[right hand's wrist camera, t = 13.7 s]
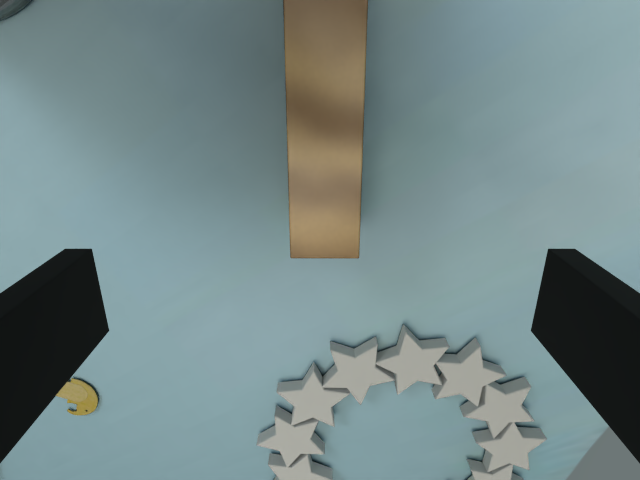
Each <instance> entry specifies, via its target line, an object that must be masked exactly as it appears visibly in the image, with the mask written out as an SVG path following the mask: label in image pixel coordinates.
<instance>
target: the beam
mask: <svg viewBox="0 0 640 480" xmlns="http://www.w3.org/2000/svg"><path fill="white" fill-rule="evenodd" d="M283 7H284V43H285V79H286V115H287V152H288V188H289V224H290V257H291V258H359V244H360V215H361V186H362V157H363V128H364V99H365V70H366V41H367V12H368V0H283Z"/></svg>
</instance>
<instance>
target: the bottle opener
mask: <svg viewBox="0 0 640 480" xmlns="http://www.w3.org/2000/svg"><path fill="white" fill-rule="evenodd" d="M56 396H58V397H62V398H65V399H68V401H67V403H74V404H77V410H76V411H72V410H70V409H68V410H67V411H68V412H69V413H71V414H74V415H86V414H89V413H91V412H93V411H94V410H95V409H96V407H97V404H98V397H97V394H96V392H95V391H94V389H93V388H92V387H91V386H89V385H88V384H86V383H85V382H83V381H81V380H77V379H74V378H72V379H71V382H68V381H67V383H66V384H65V385H64V386H63V387H62V389H61V390H60V391H59V392H58V394H57V395H56ZM86 410H88V411H86Z"/></svg>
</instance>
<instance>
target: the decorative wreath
mask: <svg viewBox="0 0 640 480" xmlns="http://www.w3.org/2000/svg"><path fill="white" fill-rule="evenodd" d="M377 347H378V344H377V339H376V337H374V338H372V339H370V340H369V341H367V342H365V343H363V344H361V345H360V346H358V347H356V348H350V347H347V346H344V345H341V344H338V343H335V342H332V341H330V350H331V353H332V356H333V359H334V362H335V364H334V365H333V366H332V368H331V369H330V370H329V371H328V372H327V373H326V374H325V375H324V376H323V377H322V375H321V373H320V371H319V370H318V368H317V366H316V364H315V363H314V362H313V364H312V366H311V367H310V369H309V370H308V372H307V374H306V375H305V377H304V378H303V380H298V381H288V382H278V386H277V393H278V394H279V395H281V396H282V397H283V398H284V399H286V400H287V401H288V402H289V403H291V404H292V405H293V406H294V407H293V412H292V414H291V413H289V412H287V411H285V410H284V409H282V408H280V407H279V406H277V405H276V410H275V425H274V426H273V427H271V428H269V429H267V430H265V431H264V432H262V433H260V434H258V439H257V446H261V447H265V448H270V449H274V450H278V451H280V453H281V455H279V454H271V453H270V454H269V461H268V465H269V466H270V468H271V469H272V470H273V472H274V473H275V474H276V477H275V478H274V480H332V468H329V467H327V466H324V465H321V464H319V463H316V462H313V461H312V459H311V455H310V454H325V443H324V442H323V441H322V440H321V439H320V438H319V437H318V435H317V434H316V433H315V432H314V430H315V428H316V426H317V423H318V420H320V421H322V422H324V423H327V424H329V425H331V426H334V413H333V406H334V405H335V404H337V403H338V402H339V401H341V400H342V399H343V398H345V397H346V396H347V395H349V394H350V392H351V394H352V395H353V396H354V397H355V399H356V400H357V401H358V402H359V404H360V405H361V403H362V401H363V399H364V397H365V395H366V393H367V391H368V389H369V387H370V386H371V385H376V384H381V383H385V382H390V381H394V380H395V387H396V391H397V395H398V394H399V393H401V392H402V391H404V390H405V389H406V388H408V387H409V386H411V385H412V384H414V383H415V382H416V381H422V382H427V383H433V384H435V385H434V386H433V388H432V392H433V395H434V398H435V399H439V398H444V397H448V396H453V395H458V394H461V395H463V396H464V397H465V398H467V399H468V400H469V401H468V402H466V403H465V404H463V405H461V406H460V409H461V412H462V414H463V417H467V418H472V419H478V420H483V421H486V423H487V425H488V428H489V429H487V430H481V431H474V432H472V434H473V436H474V439H475V441H476V443H477V444H479V445H480V446H481V447H483V448H484V449H485V450H486V451H485V454H484V458H483V462H480V461H475V460H470V459H467V461H468V463H469V466H470V469H471V471H472V474H473V475H472V476H471V477H469V478H468V479H467V480H523V478H521V477H519V476H518V475H516V474H514V473H512V469H513V465H516V466H519V467H522V468H524V469H527V470H529V461H528V452H530V451H531V450H533V449H534V448H535V447H537V446H538V445H540V444H541V443H542V442H544V441H545V440H546V439H547V438H546V437H545V435H544V433H543V432H542V430H541V429H540V428H527V427H517V426H516V424H515V423H514V422H529V421H534V419H533V418H532V416H531V415H530V413H529V411H528V410H527V409H526V408H525V407H524V406H523V405H522V403H523V402H524V400H525V398H526V396H527V394H528V392H529V390H530V388H531V385H530V384H529V382H528V381H527V379H526V378H525V377H522V378H519V379H516V380H513V381H510V382H507V383H504V384H501V385H500V384H498V383H496V382H494V381H496V380H498V379H500V378H502V377H504V376H506V373H505V372H504V370H503V369H502V367H501V366H499V365H496V364H493V363H491V362H488V361H485V360H482V354H481V347H480V344H479V343H478V341H477V339H476V338H474V339H473V340H472V341H471V342H470V343H469V344H467V345H466V346H465V347H464V348H463V349H462V350H461V351H460V352H459V353H458V354H444V353H445V351H446V350H447V349H448V348H449V345H448V343H447V341H446V338H439V339H429V340H418V339H417V338H416V337H415V336H414V335H413V334H412V332H411V331H410V330H409V329H408V328H407V327H406V326H405V325H404V324H403V326H402V329H401V332H400V336H399V339H398V342H397V345H396V346H394V347H391V348H388V349H386V350H383V351H380V352H377ZM435 364H437V366H438V367H439V369H440V370H441V372H442V373H441V375H440V377H439V375H438V373H437V371H436V369H435V366H434V365H435ZM394 374H395V377H394Z"/></svg>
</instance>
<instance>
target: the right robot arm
mask: <svg viewBox="0 0 640 480" xmlns="http://www.w3.org/2000/svg"><path fill="white" fill-rule="evenodd" d="M31 1H32V0H0V20H3V19H6V18H8V17H10V16H12V15H14V14H16V13H17V12H19V11H20V10H21V9H23V8H24V7H25V6H26V5H27V4H28V3H30V2H31ZM108 331H109V328H108V323H107V319H106V314H105V309H104V304H103V300H102V295H101V290H100V285H99V281H98V276H97V271H96V267H95V262H94V257H93V252H92V249H64V250H63V251H61V252H60V253H58V254H57V255H55V256H54V257H53V258H51V259H50V260H48V261H47V262H45V263H44V264H42V265H41V266H39V267H38V268H37V269H35V270H34V271H32V272H31V273H29V274H28V275H26V276H25V277H23V278H22V279H21V280H19V281H18V282H16V283H15V284H13V285H12V286H10V287H9V288H7V289H6V290H5V291H3V292H2V293H0V463H1V462H2V461H3V459H4V458H5V457H6V456H7V454H8V453H9V452H10V451H11V450H12V448H13V447H14V446H15V445H16V443H17V442H18V441H19V440H20V439H21V437H22V436H23V435H24V434H25V433H26V431H27V430H28V429H29V428H30V426H31V425H32V424H33V423H34V422H35V420H36V419H37V418H38V417H39V415H40V414H41V413H42V412H43V411H44V409H45V408H46V407H47V406H48V405H49V403H50V402H51V401H52V400H53V398H54V397H55V396H56V395H57V394H58V392H59V391H60V390H61V389H62V387H63V386H64V385H65V384H66V383H67V381H68V380H69V379H70V378H71V376H72V375H73V374H74V373H75V372H76V370H77V369H78V368H79V367H80V366H81V364H82V363H83V362H84V361H85V359H86V358H87V357H88V356H89V355H90V353H91V352H92V351H93V350H94V348H95V347H96V346H97V345H98V344H99V342H100V341H101V340H102V339H103V338H104V336H105V335H106V334H107V333H108ZM531 331H532V333H533V334H534V335H535V336H536V338H537V339H538V340H539V341H540V342H541V344H542V345H543V346H544V347H545V348H546V350H547V351H548V352H549V353H550V355H551V356H552V357H553V358H554V359H555V361H556V362H557V363H558V364H559V366H560V367H561V368H562V369H563V370H564V372H565V373H566V374H567V375H568V376H569V378H570V379H571V380H572V381H573V383H574V384H575V385H576V386H577V387H578V389H579V390H580V391H581V392H582V394H583V395H584V396H585V397H586V398H587V400H588V401H589V402H590V403H591V405H592V406H593V407H594V408H595V409H596V411H597V412H598V413H599V414H600V415H601V417H602V418H603V419H604V420H605V422H606V423H607V424H608V425H609V426H610V428H611V429H612V430H613V431H614V433H615V434H616V435H617V436H618V437H619V439H620V440H621V441H622V442H623V443H624V445H625V446H626V447H627V448H628V450H629V451H630V452H631V453H632V454H633V456H634V457H635V458H636V459H637V460H638V462H639V463H640V293H638V292H637V291H635V290H634V289H633V288H631V287H630V286H628V285H627V284H625V283H624V282H622V281H621V280H619V279H618V278H617V277H615V276H614V275H612V274H611V273H609V272H608V271H606V270H605V269H603V268H602V267H601V266H599V265H598V264H596V263H595V262H593V261H592V260H590V259H589V258H587V257H586V256H585V255H583V254H582V253H580V252H579V251H577V250H576V249H548V252H547V257H546V262H545V267H544V271H543V276H542V281H541V285H540V290H539V295H538V300H537V304H536V309H535V314H534V319H533V323H532V328H531Z"/></svg>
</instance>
